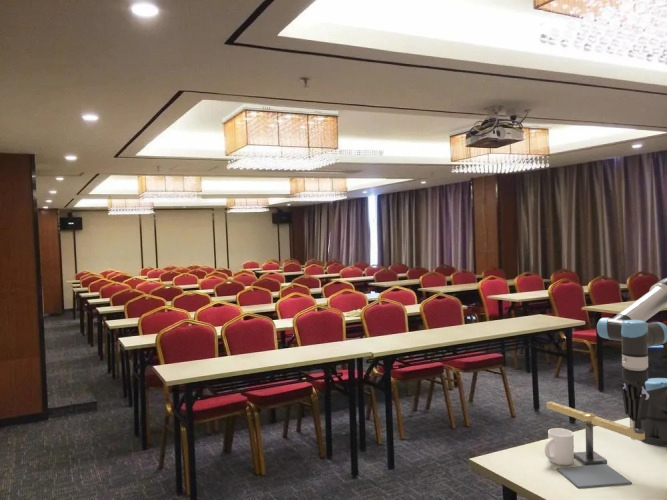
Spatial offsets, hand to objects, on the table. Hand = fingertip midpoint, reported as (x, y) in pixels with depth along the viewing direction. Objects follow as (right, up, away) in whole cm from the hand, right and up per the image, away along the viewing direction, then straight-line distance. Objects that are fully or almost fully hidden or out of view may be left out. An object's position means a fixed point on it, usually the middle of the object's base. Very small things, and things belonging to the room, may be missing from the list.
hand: (635, 438), depth 181 cm
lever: (-9, +2, +12) cm, 15 cm away
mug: (-20, -13, +13) cm, 27 cm away
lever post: (-9, -12, +13) cm, 20 cm away
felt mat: (-14, -13, +1) cm, 19 cm away
